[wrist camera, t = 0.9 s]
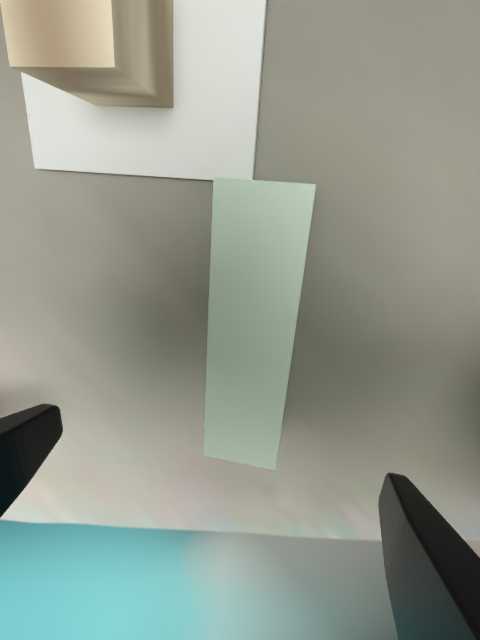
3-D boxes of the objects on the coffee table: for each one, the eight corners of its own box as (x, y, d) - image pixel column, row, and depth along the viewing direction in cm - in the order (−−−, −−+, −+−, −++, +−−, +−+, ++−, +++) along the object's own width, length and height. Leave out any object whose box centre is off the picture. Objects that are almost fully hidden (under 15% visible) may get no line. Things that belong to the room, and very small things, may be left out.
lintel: (314, 188, 16) (316, 184, 12) (281, 423, 21) (275, 470, 17) (235, 182, 17) (213, 177, 13) (221, 411, 21) (202, 455, 18)
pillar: (173, -1, 14) (105, -103, 9) (173, 108, 15) (114, 67, 11) (88, 1, 15) (-14, -92, 10) (96, 105, 16) (10, 66, 11)
